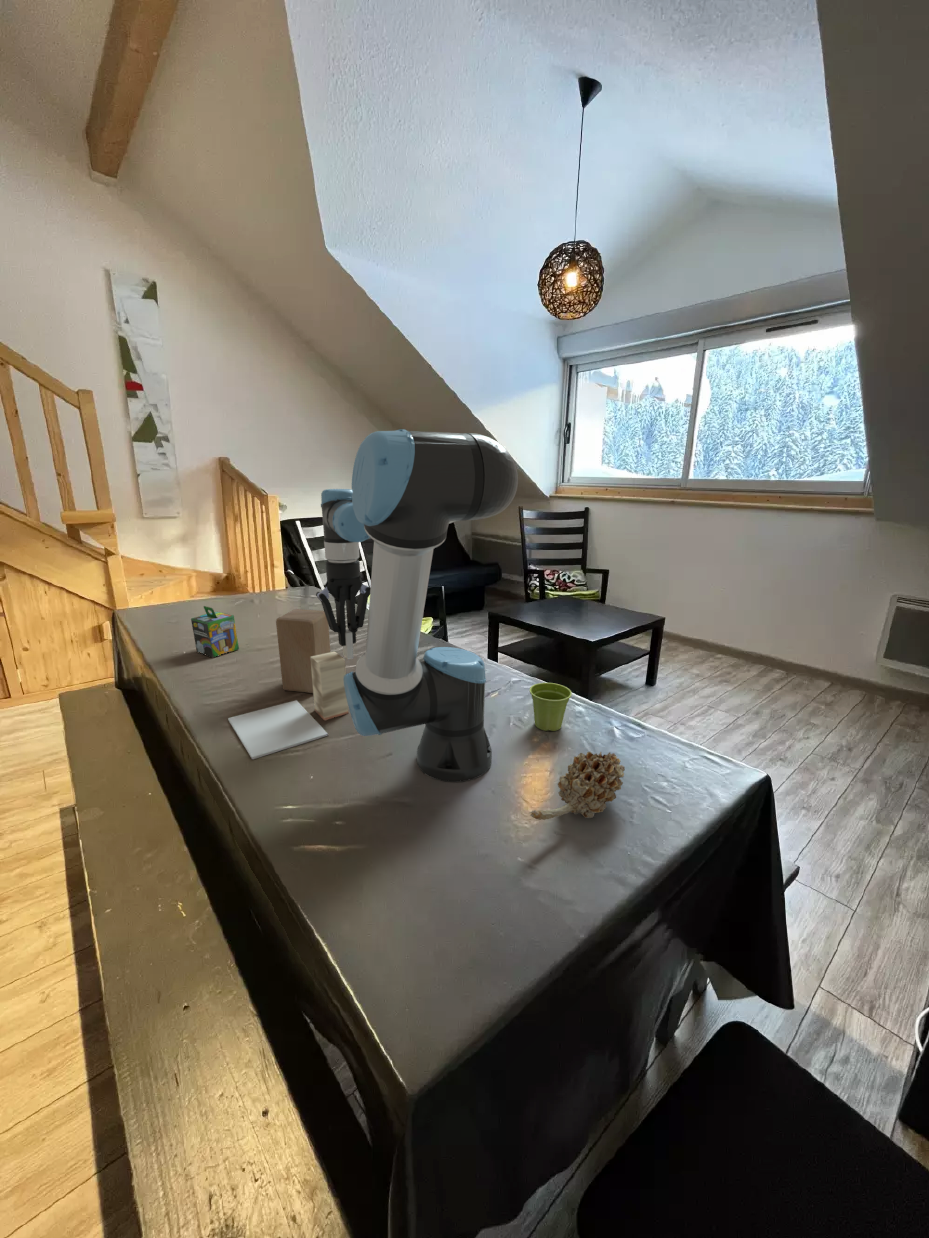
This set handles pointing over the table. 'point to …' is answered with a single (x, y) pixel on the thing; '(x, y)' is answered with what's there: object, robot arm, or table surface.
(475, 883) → the table surface
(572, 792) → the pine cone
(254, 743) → the mat
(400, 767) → the table surface
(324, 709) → the birch block
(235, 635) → the chalk box
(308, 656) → the block
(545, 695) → the plant pot
